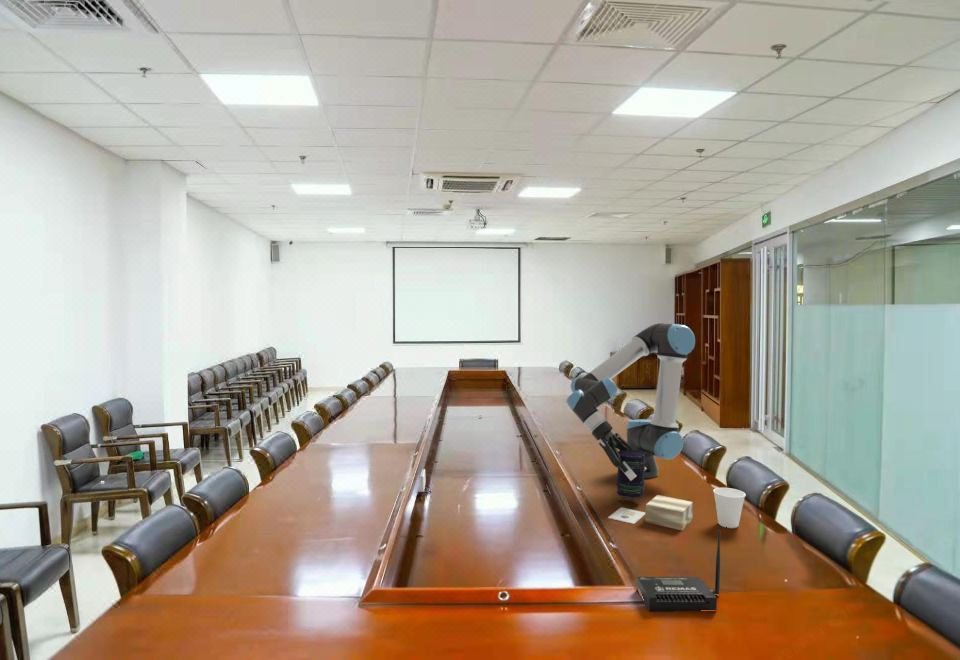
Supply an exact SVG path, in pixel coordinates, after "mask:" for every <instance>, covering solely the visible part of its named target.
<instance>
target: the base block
mask: <svg viewBox="0 0 960 660" xmlns="http://www.w3.org/2000/svg"><path fill="white" fill-rule="evenodd" d="M693 504H694V502H693V501H690V500H689V501H688V500H685V499H680V498H675V497H671V496H670V497H669V496H664V495H659V494H657V495H656V496H654V497H653V498H652V499H651V500H650V501H648V502H647V503H646V504H645V513H646V514H645V521H644V522H645V523H647V524H653V525H656V526H660V527H663V528H664V527H665V528H669V529H673V530H678V531H684V530H685V528H686V527H687V526H688V525H689V524H690V523H691V522H692V521H693V509H694V507H693Z"/></svg>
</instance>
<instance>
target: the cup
mask: <svg viewBox="0 0 960 660" xmlns="http://www.w3.org/2000/svg"><path fill="white" fill-rule="evenodd" d="M712 492H713V494H714V503H715V508H716V516H717V523H718V524H719V526H721V527H723V528H726V527H727V528H726V529H736V528H738V527H739V525H740V519H741V517H742V510H743V505H744V502H745V499H746V498H745V497H747V495H746V493H745V492H744V491H742V490H739V489H737V488H730V487H716V488H714V489H713V490H712Z"/></svg>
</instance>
